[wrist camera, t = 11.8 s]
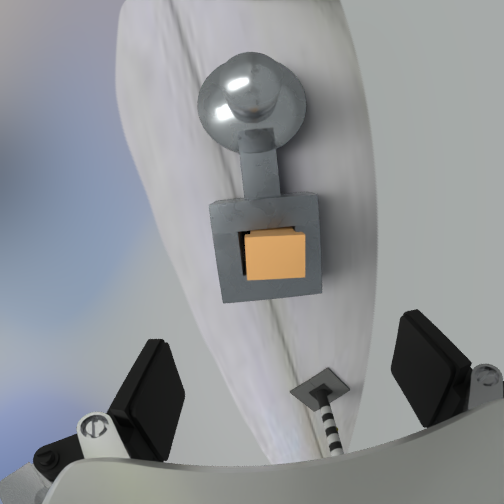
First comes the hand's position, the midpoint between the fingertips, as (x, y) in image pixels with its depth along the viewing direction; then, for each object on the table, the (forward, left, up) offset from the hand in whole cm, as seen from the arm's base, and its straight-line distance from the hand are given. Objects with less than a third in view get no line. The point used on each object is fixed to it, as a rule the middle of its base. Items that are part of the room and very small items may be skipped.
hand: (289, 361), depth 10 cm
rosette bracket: (-8, 0, -22) cm, 23 cm away
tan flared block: (0, 0, -22) cm, 22 cm away
